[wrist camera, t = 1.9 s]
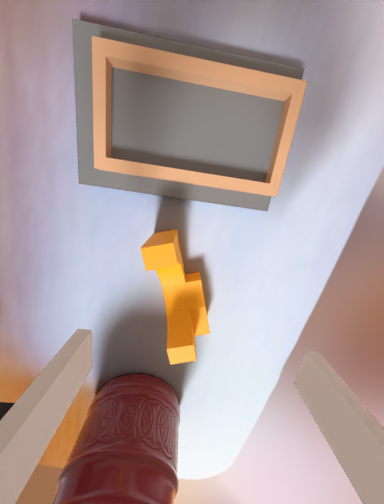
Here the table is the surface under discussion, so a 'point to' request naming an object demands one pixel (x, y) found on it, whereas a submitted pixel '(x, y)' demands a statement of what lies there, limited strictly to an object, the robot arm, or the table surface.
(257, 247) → the table surface
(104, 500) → the canister
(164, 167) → the holder board
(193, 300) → the pipe clamp
